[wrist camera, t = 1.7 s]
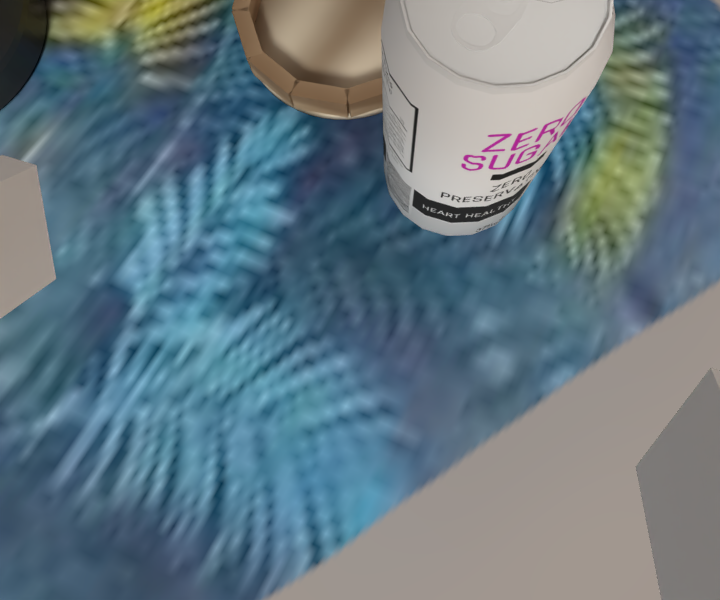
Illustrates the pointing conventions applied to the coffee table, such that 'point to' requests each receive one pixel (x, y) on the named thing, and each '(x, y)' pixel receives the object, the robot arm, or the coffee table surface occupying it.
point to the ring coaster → (316, 53)
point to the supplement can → (481, 99)
